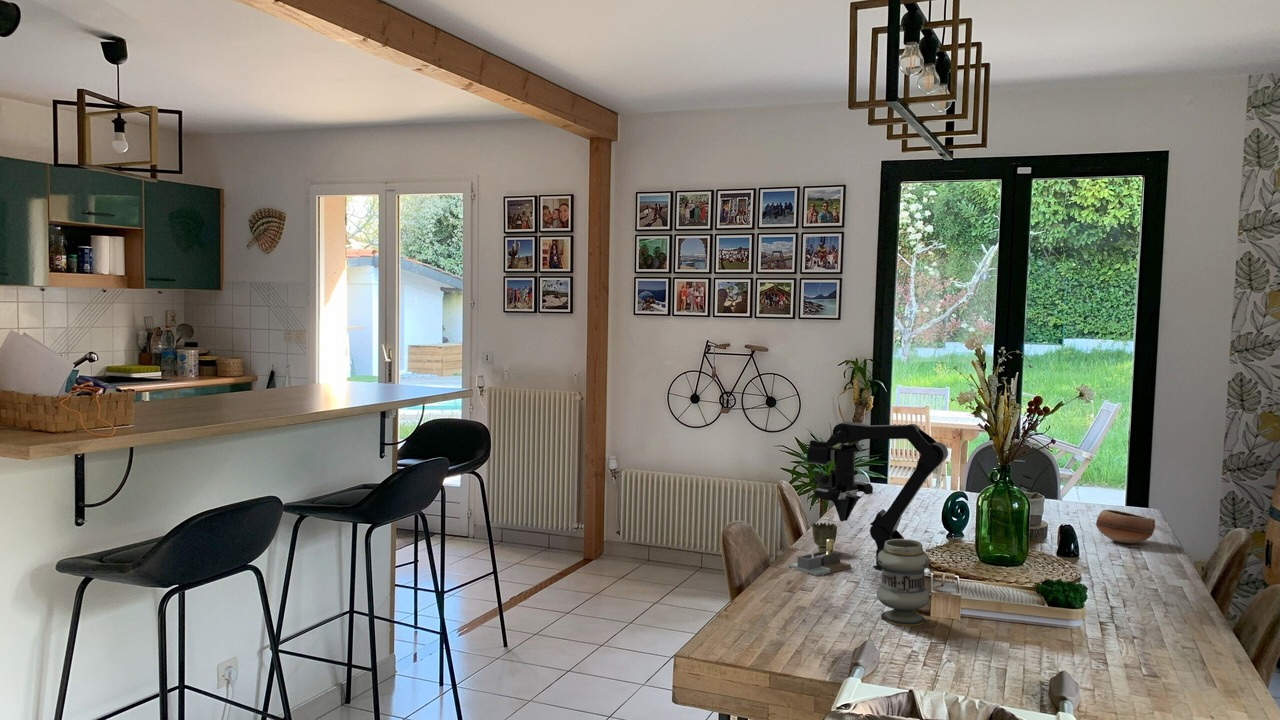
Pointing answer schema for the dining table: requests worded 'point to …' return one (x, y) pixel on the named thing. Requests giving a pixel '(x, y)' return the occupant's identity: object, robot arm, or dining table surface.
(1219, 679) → the dining table surface
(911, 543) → the apothecary jar
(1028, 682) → the dining table surface
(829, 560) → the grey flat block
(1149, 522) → the bowl
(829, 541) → the bolt
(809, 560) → the jamb keeper
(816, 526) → the cup
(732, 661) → the dining table surface
